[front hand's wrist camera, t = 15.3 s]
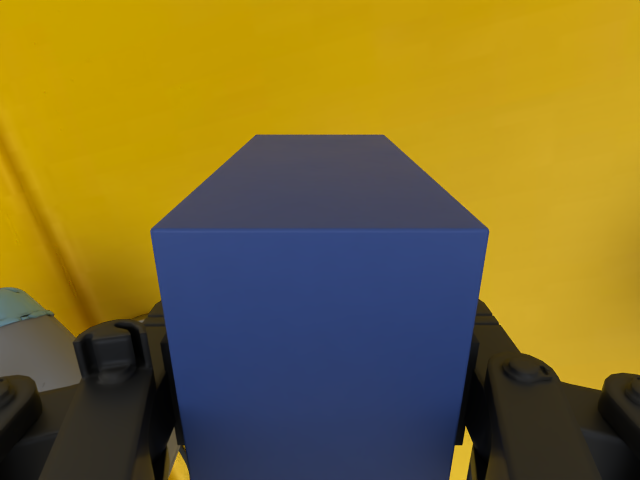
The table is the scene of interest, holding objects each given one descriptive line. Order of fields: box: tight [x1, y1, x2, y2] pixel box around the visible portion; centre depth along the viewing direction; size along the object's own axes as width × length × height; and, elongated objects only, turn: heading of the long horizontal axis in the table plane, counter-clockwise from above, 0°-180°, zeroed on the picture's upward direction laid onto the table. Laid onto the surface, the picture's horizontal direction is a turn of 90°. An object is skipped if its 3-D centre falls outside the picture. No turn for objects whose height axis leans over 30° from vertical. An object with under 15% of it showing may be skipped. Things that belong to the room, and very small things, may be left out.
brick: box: [150, 135, 489, 480], centre depth 12 cm, size 5×8×10 cm, turn 0°
